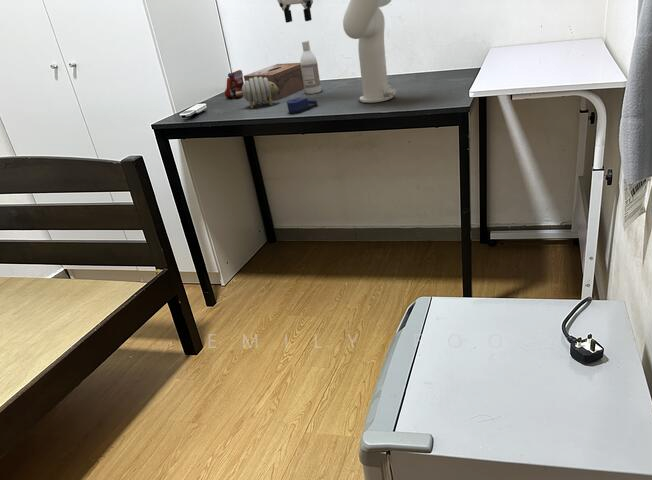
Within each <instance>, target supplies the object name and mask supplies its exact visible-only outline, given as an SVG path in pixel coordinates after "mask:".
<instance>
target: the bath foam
mask: <svg viewBox="0 0 652 480" xmlns="http://www.w3.org/2000/svg"><path fill="white" fill-rule="evenodd" d="M301 46H302V53H301V56H300V61H299V63H300V64H301V71H302V77H303V83H304V89H303V90H304V93H305V94H306V95H313V94H318V93H321V92H322V86H321V85H322V84H321V78H320V72H319V65H318V60H317V57H316V56H315V54H314V53H313V52H312V50H311V46H310V40H302V41H301Z"/></svg>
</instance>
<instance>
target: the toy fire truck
mask: <svg viewBox="0 0 652 480" xmlns="http://www.w3.org/2000/svg"><path fill="white" fill-rule="evenodd" d="M227 77H228V78H226V89H225V90H224V96H225V98H226V99H232V98H233V97H235V98H237V99H242V98H243V95H239V96H236V92H239V91H242V86H243V84H245V83H244V82H245V81H244V73H243V70H242V69H238V70H236V71H233V72H228V74H227Z"/></svg>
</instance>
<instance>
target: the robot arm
mask: <svg viewBox="0 0 652 480" xmlns="http://www.w3.org/2000/svg"><path fill="white" fill-rule="evenodd" d="M276 1H277V3H278V5H279V7H280V8H281V10H282V12H283V14H284V21H285V23H286V24H287V23H292V22H293V16H292V11H291V10H292V9H291V6H292V5H301V6H302V7H303V10H302V11H303V17H304V21H305V22H309V21H312V13H311V8H312V5H313V3H314V0H276ZM391 2H392V0H349V3H348V5H347V7H346V10H345V12H344V15H343V18H342V27H343V31H344V34H345V35H346V36H347V37H349V38H350V39H353V40H358V44H357V45H358V46H357V47H358V48H357V49H358V50H357V51H358V59H359V69H360V77H361V86H362V94H363V95H361V96H359V101H360V102H361V103H366V104H372V103H373V104H374V103H381V102H382V103H383V102H386V101H389V100H392V99H393V97H394V96H396V94H397V89H396V88H392V87H391V84H389V82H388V72H387V61H386V48H385V47H386V46H385V26H386V24H385V23H386V22H385V21H386V20H385V16H384V13H383V11H382V9H381V8H382V7H385V6H387V5H389V4H390V3H391Z"/></svg>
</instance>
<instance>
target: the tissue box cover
mask: <svg viewBox="0 0 652 480" xmlns="http://www.w3.org/2000/svg"><path fill="white" fill-rule="evenodd" d="M254 77H257V78H259V77H262V78H265V77H266V78H267V79H268V81H270V82H272V83H274V84H275V85H276V86H277V87H278V93H277V94H275V95H271V99H272V101H279V100H281V99H283V98H285V97H288V96H290V95H293V94H294V93H297V92H299V91H301V90H305V89H304V83H303V77H302V71H301V64H300V62H292V63H291V62H287V63H276V64H273V65H271V66H268V67H265V68H262V69H258V70H255V71H253V72H250V73H248V74H247V73H246V74H245V75H243V81H244V82H245V81H249V79H250V78H252V79H253V78H254ZM267 101H268V98H267Z"/></svg>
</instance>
